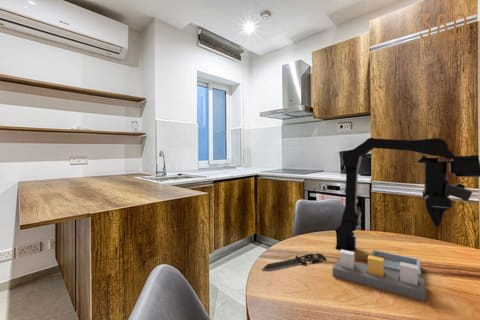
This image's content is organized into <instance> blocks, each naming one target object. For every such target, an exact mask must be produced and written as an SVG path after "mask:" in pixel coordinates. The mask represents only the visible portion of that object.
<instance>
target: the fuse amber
mask: <svg viewBox="0 0 480 320" xmlns="http://www.w3.org/2000/svg"><path fill="white" fill-rule="evenodd" d="M367 265H368V273H369V274H373V275H377V276H381V277H384V258H380V257H375V256H371V254H368V256H367Z"/></svg>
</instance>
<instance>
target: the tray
mask: <svg viewBox="0 0 480 320" xmlns="http://www.w3.org/2000/svg"><path fill="white" fill-rule="evenodd" d="M370 255H371V256H375V257H380V258H384V269H387V270H391V271H395V272H400V262H404V263H409V264H414V265H418V277H421V278H422V273H421V260H420V258H415V257H412V256H411V257H410V256H406V255H400V254H396V253H390V252H385V251H380V250H375V249H373V250H372V252H371V254H370Z"/></svg>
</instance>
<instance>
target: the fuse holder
mask: <svg viewBox="0 0 480 320" xmlns="http://www.w3.org/2000/svg"><path fill="white" fill-rule="evenodd" d="M332 276H333V277H336V278H340V279H343V280H347V281H350V282H353V283H358V284H361V285H365V286H367V287H372V288H376V289H379V290H382V291H386V292H389V293H393V294H396V295H401V296H404V297H408V298H411V299H415V300H419V301H420V302H421V301H422V302H425V303H426V298H427V294H426V293H427V292H426V283H425V277H422V276H421V277H418V286H417V285H413V284H409V283H405V282H401V281H400V272H395V271H391V270H387V269H384V277H381V276H377V275H373V274H369V273H368V264H365V263H360V262H355V269H354V270H353V269H349V268H345V267H341V266H340V257H339V258H338V259H337V260H336V262H335V263H334V265H333V267H332Z"/></svg>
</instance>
